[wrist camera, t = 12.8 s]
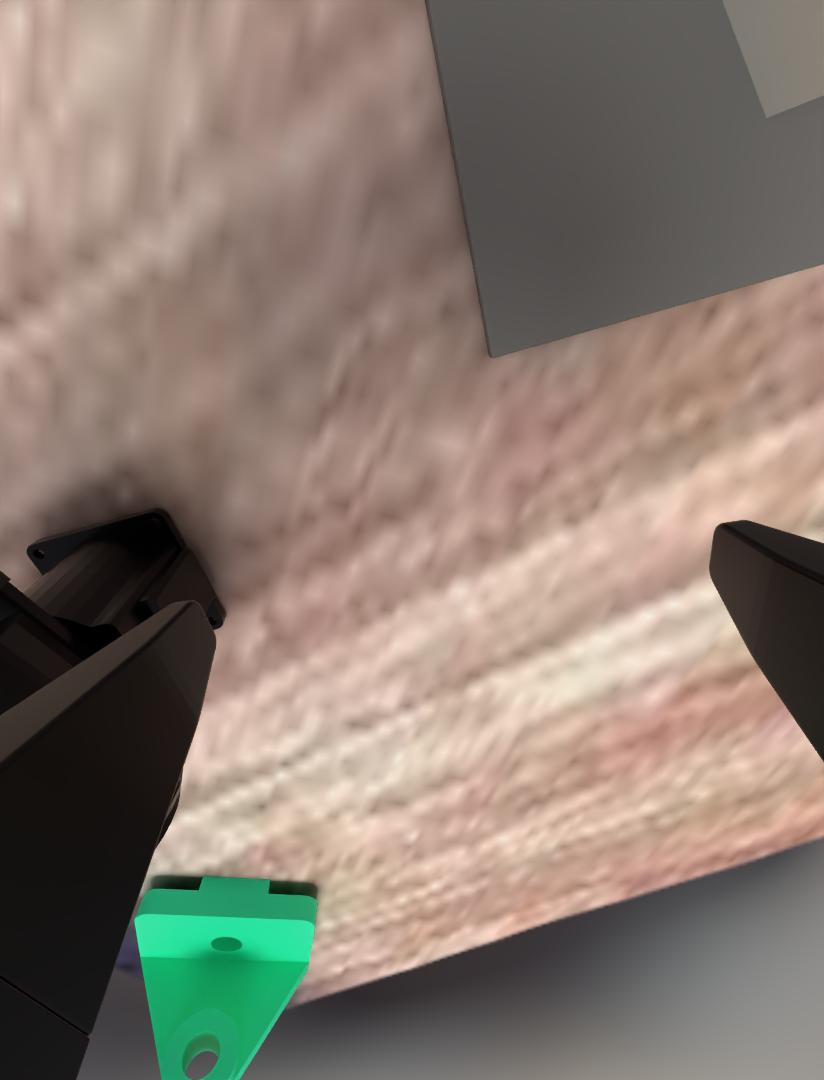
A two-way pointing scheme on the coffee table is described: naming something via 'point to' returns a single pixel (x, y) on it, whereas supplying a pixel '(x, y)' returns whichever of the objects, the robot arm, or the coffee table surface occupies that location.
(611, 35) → the rubber mat
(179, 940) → the camera mount
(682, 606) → the coffee table surface
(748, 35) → the block
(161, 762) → the robot arm
